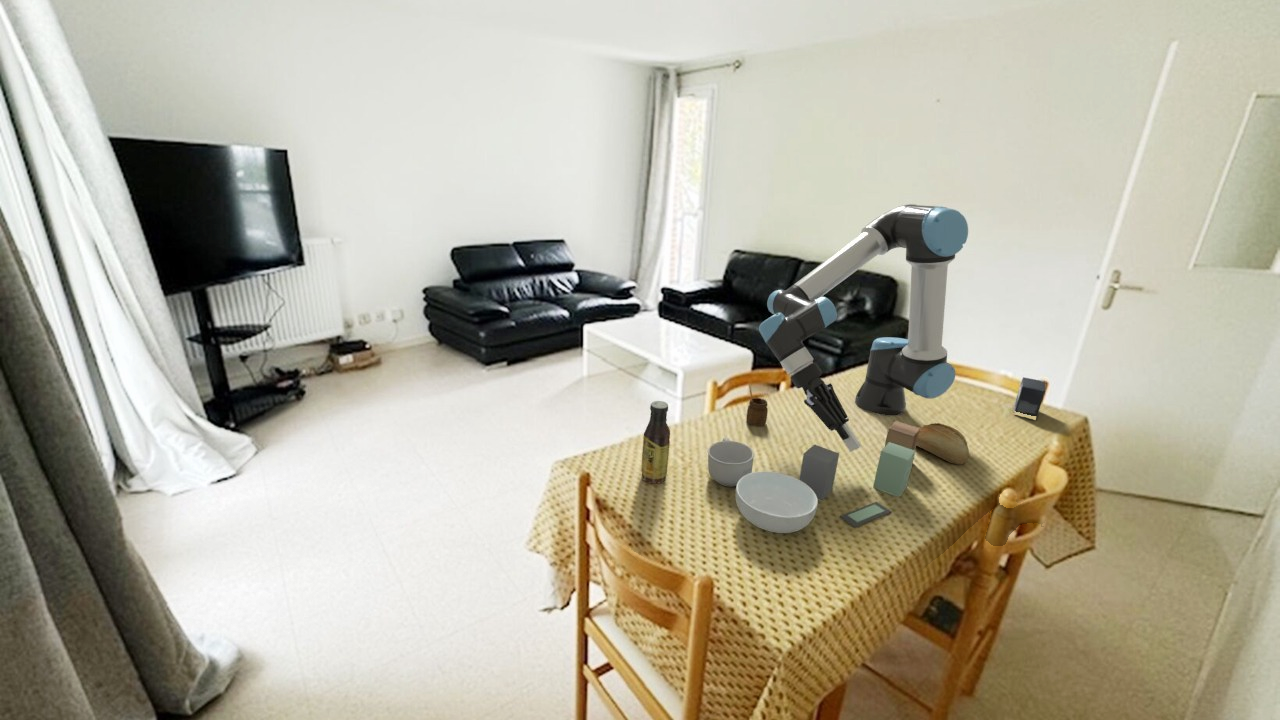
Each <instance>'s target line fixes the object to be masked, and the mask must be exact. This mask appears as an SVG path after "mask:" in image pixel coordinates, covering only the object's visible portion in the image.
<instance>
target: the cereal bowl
mask: <svg viewBox="0 0 1280 720" xmlns="http://www.w3.org/2000/svg"><path fill="white" fill-rule="evenodd" d="M735 502H736V505H737V508H738V510H739V513H740V514H742V516H743V517H744V519H746V520H747V521H748V522H750V524H753V526H755V527H757V528H760V529H762V530H765V531H766V532H771V533H775V534H776V533H777V534H788V533H790V534H791V533H794V532H798V531H800V530H802V529H804V528H806V527H807V526H808V525H809V524H811V522H812V520H813V519H814V517H815V515H816V512H817V507H818V503H819V500H818V499H817V496H816V494H815V493H814V491H813V490H812V489H811V488H810V487H809V486H808V485H806V484H805V483H804V482H802V481H800V480H799V479H798V478H796V477H794V476H792V475H789V474H787V473H781V472H777V471H771V470H770V471H761V470H760V471H754V472H752V473H750V474H747V475H745V476H743V477H742V478H741V479H740V480H739V481H738V483H737V486H735Z"/></svg>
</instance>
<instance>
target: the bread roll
mask: <svg viewBox="0 0 1280 720" xmlns="http://www.w3.org/2000/svg"><path fill="white" fill-rule="evenodd" d="M919 428H920V431H919V435H918V439H917V443H916V447H919V448H921V449H923V450H925V451H927V452H929V453H931V454H933V455H936V457H939V458H941V459H943V460H945V461H946V462H948V463H951V464H953V465H963V464H966V462H967V461H968V459H969V454H970V451H969V446H968V442H967V440H966V438H965V435H963V433H961V432H960V431H959V430H957V429H955V428H954V427H951V426H950V425H947V424H944V423H939V422H937V423H936V422H935V423H930V424H926V425H922V426H919Z"/></svg>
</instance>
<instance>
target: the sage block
mask: <svg viewBox="0 0 1280 720" xmlns="http://www.w3.org/2000/svg"><path fill="white" fill-rule="evenodd" d="M915 454H916V449H915V450H912V449H909V448H906V447H902V446H899V445H896V444H893V443H890V442H889V443H888V444H887V445H886V446H885V445H884V447H883V448H882V449H881V450H880V454H879V459H878V463H877V468H876V472H875V473H876V474H875V477H874V481H873V488H874V489H876V490H879V491H881V492H884V493H887V494H889V495H892V496H895V497H897V498H901V496H902V494H903V493H904V492H905V491H906V489H907V487H908V483H909V478H910V475H911V471H912V467H913V464H914V459H915Z"/></svg>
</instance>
